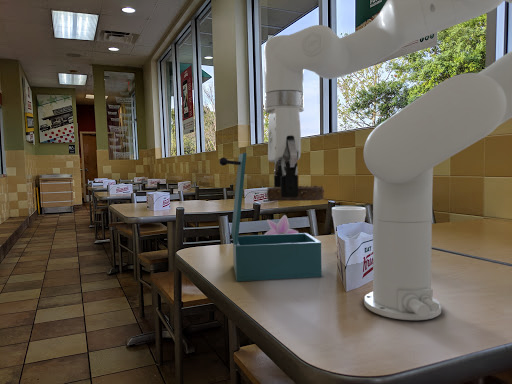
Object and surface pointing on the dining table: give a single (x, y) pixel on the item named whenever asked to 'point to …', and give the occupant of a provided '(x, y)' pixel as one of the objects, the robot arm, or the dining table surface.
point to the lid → (237, 193)
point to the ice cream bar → (303, 194)
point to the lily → (280, 227)
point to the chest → (276, 257)
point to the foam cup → (347, 215)
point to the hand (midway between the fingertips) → (285, 194)
